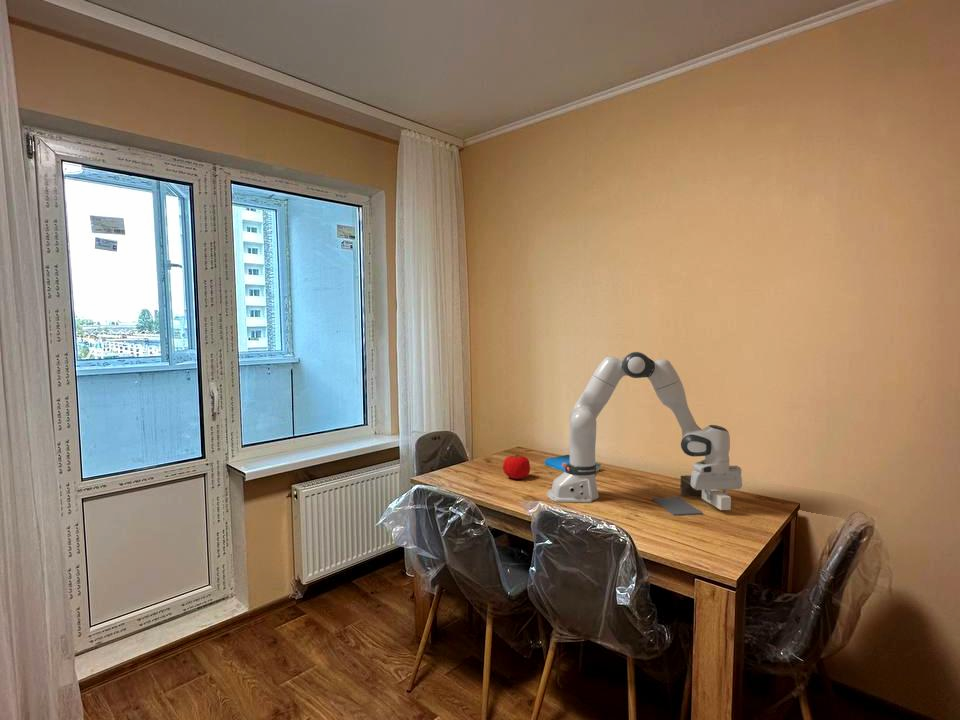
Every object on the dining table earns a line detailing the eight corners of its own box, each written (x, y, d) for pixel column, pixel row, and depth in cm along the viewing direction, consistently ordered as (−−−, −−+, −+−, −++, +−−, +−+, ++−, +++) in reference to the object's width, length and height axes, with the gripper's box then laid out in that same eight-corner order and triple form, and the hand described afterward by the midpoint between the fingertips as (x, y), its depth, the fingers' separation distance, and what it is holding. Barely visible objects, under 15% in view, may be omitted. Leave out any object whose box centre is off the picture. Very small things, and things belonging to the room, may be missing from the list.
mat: (673, 515, 193) (673, 514, 193) (652, 499, 212) (652, 498, 212) (703, 514, 195) (703, 512, 195) (678, 498, 213) (678, 497, 213)
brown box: (691, 501, 209) (691, 481, 209) (680, 494, 218) (680, 475, 218) (716, 500, 210) (717, 480, 210) (705, 493, 219) (705, 474, 219)
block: (720, 510, 194) (721, 497, 194) (701, 498, 208) (701, 486, 207) (730, 509, 194) (731, 497, 194) (710, 497, 208) (710, 486, 208)
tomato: (531, 481, 239) (530, 458, 239) (503, 481, 239) (503, 458, 239) (529, 474, 251) (528, 451, 251) (502, 474, 252) (502, 452, 251)
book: (567, 454, 278) (601, 463, 257) (567, 462, 278) (601, 471, 257) (544, 458, 268) (577, 468, 248) (544, 466, 269) (577, 477, 248)
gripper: (736, 463, 204) (735, 496, 205) (689, 464, 202) (688, 497, 203) (746, 467, 198) (745, 501, 199) (697, 468, 196) (696, 503, 197)
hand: (715, 499), depth 201 cm, fingers closed on block, 4 cm apart
